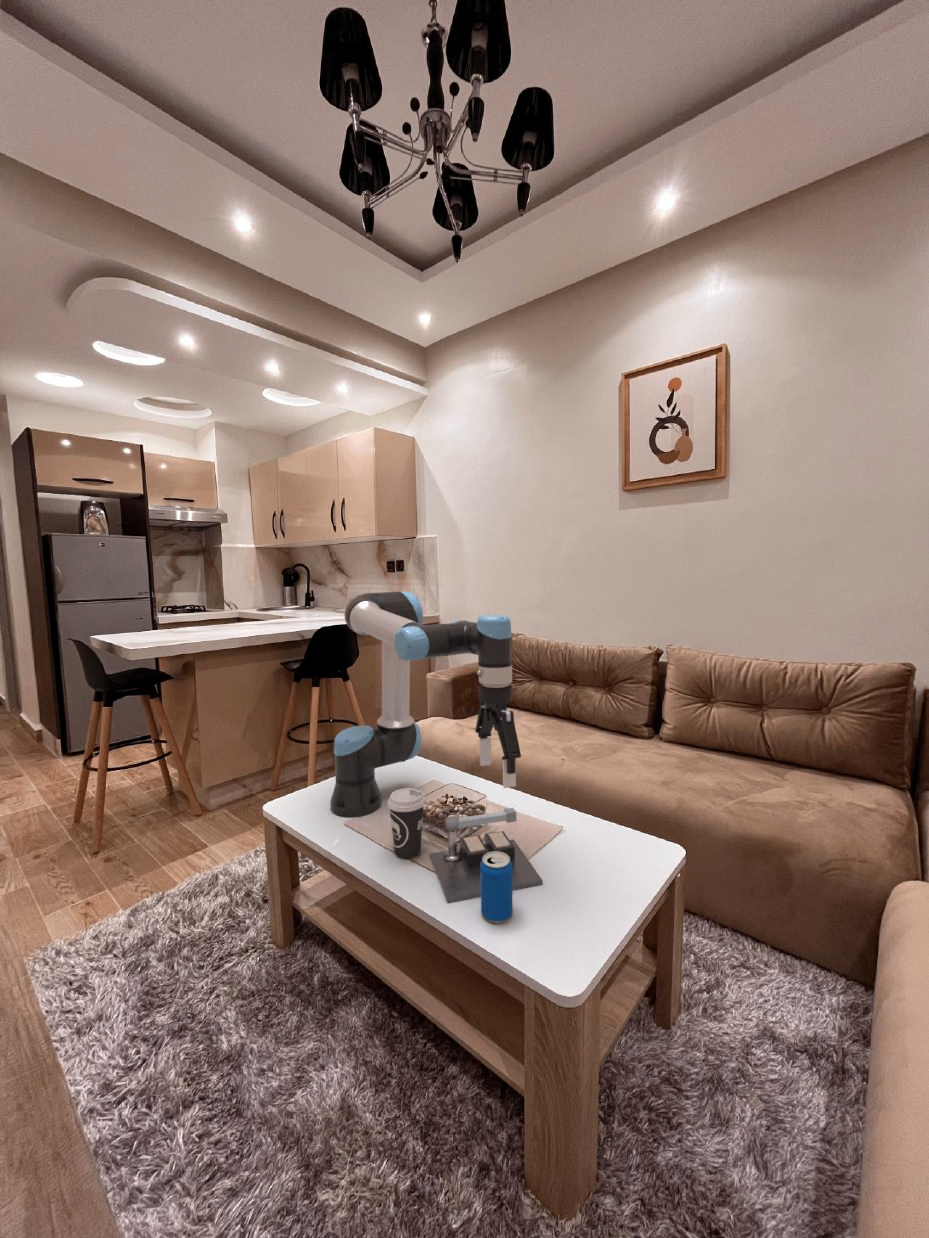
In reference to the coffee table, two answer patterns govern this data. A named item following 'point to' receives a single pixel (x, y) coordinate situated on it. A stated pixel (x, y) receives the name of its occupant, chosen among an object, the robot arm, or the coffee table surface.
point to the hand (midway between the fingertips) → (497, 775)
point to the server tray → (478, 865)
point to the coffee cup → (406, 821)
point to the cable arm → (480, 819)
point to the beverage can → (496, 886)
